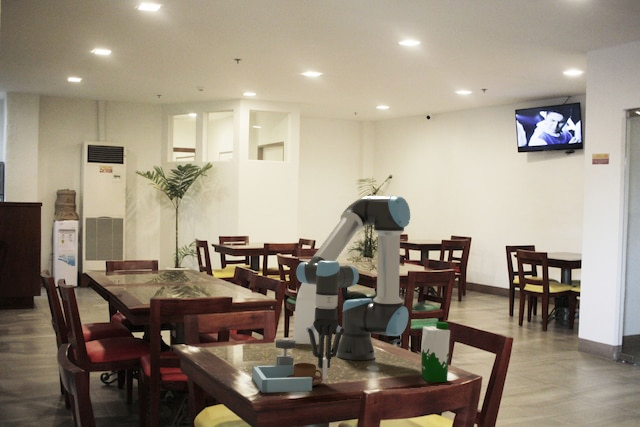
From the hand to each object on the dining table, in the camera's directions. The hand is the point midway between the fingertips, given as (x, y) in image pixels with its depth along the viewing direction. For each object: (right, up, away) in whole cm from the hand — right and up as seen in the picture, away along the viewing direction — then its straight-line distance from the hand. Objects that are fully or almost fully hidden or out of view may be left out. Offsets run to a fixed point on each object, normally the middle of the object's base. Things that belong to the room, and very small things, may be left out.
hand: (323, 377), depth 210 cm
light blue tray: (-15, -1, -1) cm, 15 cm away
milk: (-7, -2, +71) cm, 71 cm away
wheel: (-13, +5, +10) cm, 17 cm away
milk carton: (+39, -4, +11) cm, 41 cm away
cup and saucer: (-6, -2, -2) cm, 7 cm away
